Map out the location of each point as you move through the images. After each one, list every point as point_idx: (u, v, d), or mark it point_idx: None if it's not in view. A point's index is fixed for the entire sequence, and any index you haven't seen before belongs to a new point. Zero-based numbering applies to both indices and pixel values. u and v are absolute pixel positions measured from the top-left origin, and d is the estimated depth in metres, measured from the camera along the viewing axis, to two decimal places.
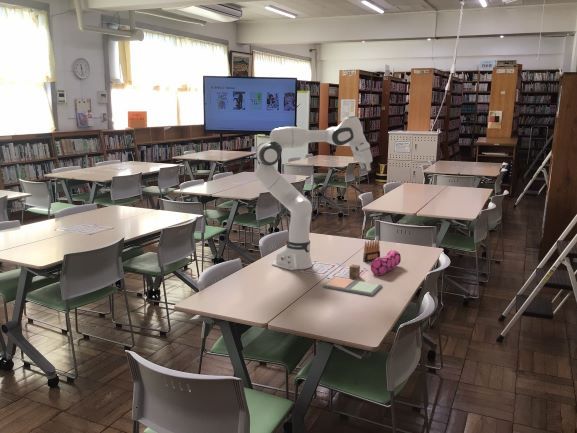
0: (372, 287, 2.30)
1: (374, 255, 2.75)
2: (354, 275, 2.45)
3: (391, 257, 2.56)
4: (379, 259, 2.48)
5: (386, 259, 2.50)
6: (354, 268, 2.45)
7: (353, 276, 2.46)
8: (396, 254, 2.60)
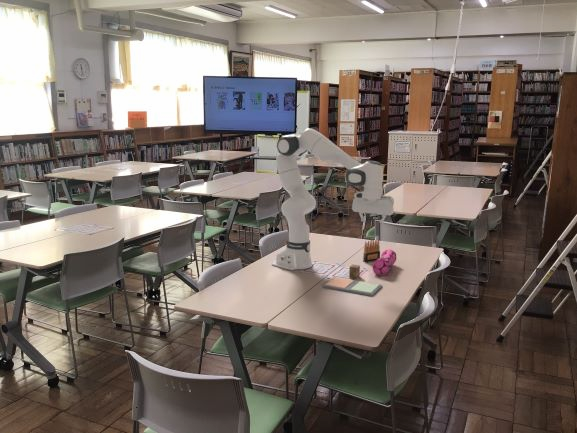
0: (372, 287, 2.30)
1: (374, 255, 2.75)
2: (354, 275, 2.45)
3: (390, 256, 2.57)
4: (382, 259, 2.48)
5: (387, 259, 2.50)
6: (354, 268, 2.45)
7: (353, 276, 2.46)
8: (393, 253, 2.62)
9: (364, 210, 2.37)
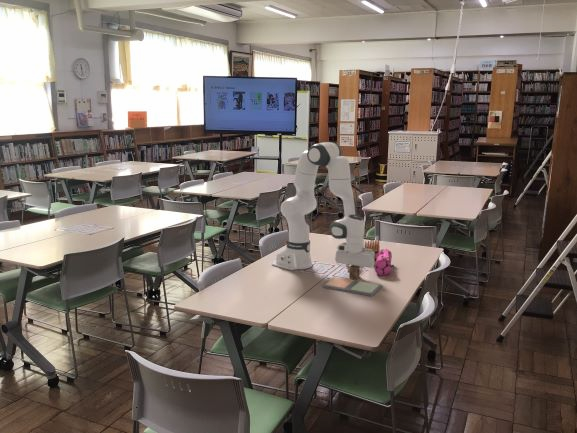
0: (372, 287, 2.30)
1: None
2: (354, 275, 2.45)
3: (388, 255, 2.58)
4: (384, 259, 2.48)
5: (388, 258, 2.51)
6: (354, 268, 2.45)
7: (353, 276, 2.46)
8: (389, 252, 2.63)
9: (346, 262, 2.46)
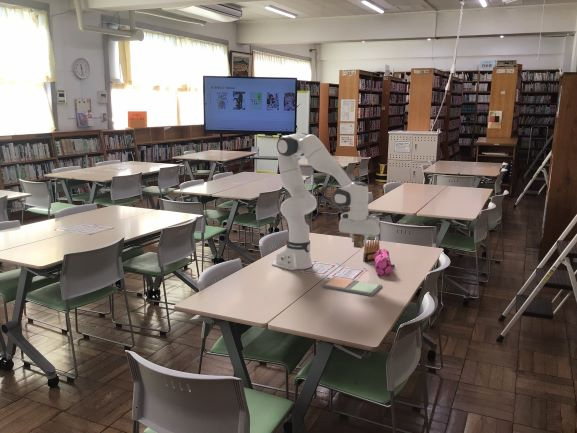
0: (372, 287, 2.30)
1: None
2: (359, 244, 2.36)
3: (387, 255, 2.58)
4: (385, 259, 2.48)
5: (388, 258, 2.51)
6: (359, 237, 2.36)
7: (358, 245, 2.37)
8: (387, 252, 2.64)
9: (351, 230, 2.37)
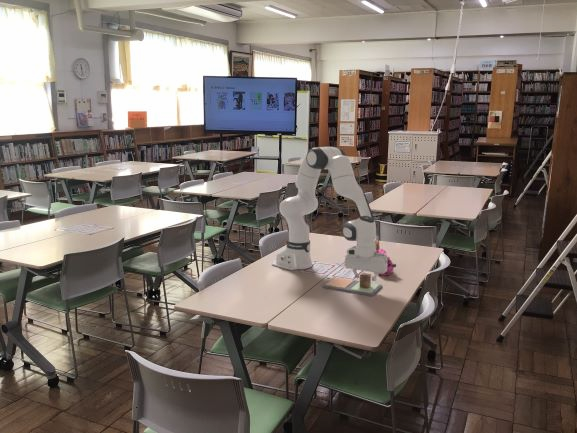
0: (372, 287, 2.30)
1: None
2: (365, 284, 2.28)
3: None
4: None
5: (389, 258, 2.52)
6: (365, 277, 2.27)
7: (364, 285, 2.28)
8: (384, 252, 2.64)
9: (357, 267, 2.28)
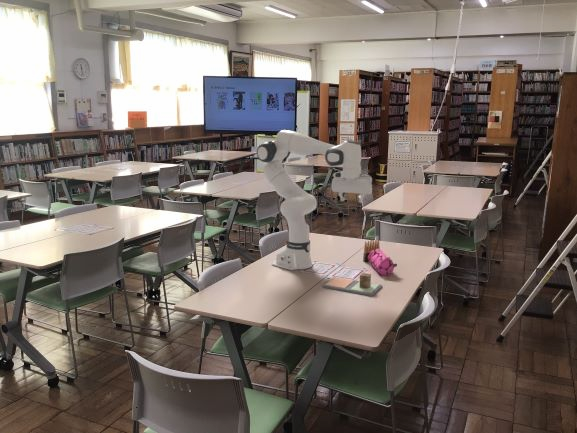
0: (372, 287, 2.30)
1: None
2: (365, 284, 2.28)
3: None
4: (387, 259, 2.48)
5: None
6: (365, 277, 2.27)
7: (364, 285, 2.28)
8: None
9: (343, 189, 2.39)
